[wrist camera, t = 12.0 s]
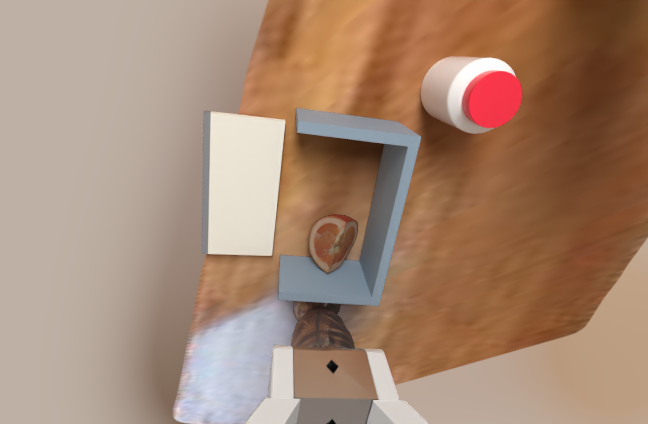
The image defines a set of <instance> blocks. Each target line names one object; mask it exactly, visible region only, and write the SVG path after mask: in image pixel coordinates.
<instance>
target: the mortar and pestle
mask: <svg viewBox="0 0 648 424" xmlns="http://www.w3.org/2000/svg"><path fill="white" fill-rule="evenodd" d="M339 310H340V304H338V303H321V302H304V301H294V306H293V311H294V314H295V317H296V319H297V320H298V323H297V325H296V327H295V330H294V333H293V336H292V343H291V346H292V347H293V346H305V347H320V348H351V349H355V347H354V342H353V339H352V337H351V334H350V332H349V331H348V330H347V328H346V326H345V325H344V323H343V321H342V319H341V318H340V317H339V316H338V315H337V314H338V312H339Z"/></svg>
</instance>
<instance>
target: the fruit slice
mask: <svg viewBox="0 0 648 424" xmlns="http://www.w3.org/2000/svg"><path fill="white" fill-rule="evenodd" d="M357 232H358V223H357V221H355V220H354V219H352V218H350V217H348V216H345V215H336V214H333V215H328V216H325V217H322V218H321V219H319V220H318V221H317V222H316V223H315V224H314V225H313V227H312V229H311V232H310V236H309V250H310V253H311V256H312V258H313V259H314V261H315V262H316V264H317V265H318V266H319V267H320V268H321V269H322V270H323V271H325V272H326V273H327V274H329V273H331V272H332V271H335V270H336V269H338V268H339V267H340V265H341V264H342V263H343V261H344V259H345V258H346V256H347V254H348V253H349V251H350V249H351V247H352V246H353V243H354V241H355V239H356V236H357Z"/></svg>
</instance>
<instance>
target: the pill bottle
mask: <svg viewBox="0 0 648 424" xmlns="http://www.w3.org/2000/svg"><path fill="white" fill-rule="evenodd" d="M421 101H422V104H423V107H424V108H425V110H426V111H427V112H428V113H429V114H430V115H431V116H432V117H434V118H436V119H438V120H440V121H442V122H444V123H446V124H449V125H451V126H453V127H455V128H457V129H459V130H462V131H464V132H467V133H473V134H477V133H484V132H488V131H490V130H492V129H494V128H496V127H499V126H501V125H503V124H505V123H507V122H508V121H509V120H510V119H511V118H512V117H513V116H514V115H515V114H516V112H517V111H518V109H519V107H520V104H521V101H522V87H521V84H520V82H519V80H518V79H517V78H516V75H515V73H514V71H513V70H512V68H511V67H510V66H509V65H508V64H506V63H505V62H504V61H501V60H499V59H496V58H489V57H464V56H452V57H447V58H444V59H442V60H440V61H438V62H437V63H436V64H434V65H433V66H432V67H431V68H430V69H429V70H428V72H427V74H426V75H425V77H424V79H423V82H422V86H421Z"/></svg>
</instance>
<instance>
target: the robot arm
mask: <svg viewBox="0 0 648 424" xmlns="http://www.w3.org/2000/svg"><path fill="white" fill-rule="evenodd" d="M245 424H429V423H428V422H427V421H426V420H425V419H424V418H423V417H422V416H421V415H420V414H419V413H418V412H417V411H416V410H415V409H413V408H412V407H411V406H410V405H409V404H408V403H407V402H406V401H400V399H399V396H398V393H397V390H396V387H395V384H394V381H393V377H392V374H391V371H390V368H389V365H388V362H387V359H386V356H385V353H384V351H383V350H382V349H351V348H320V347H305V346H293V347H292V346H283V345H274V346H273V351H272V359H271V368H270V376H269V386H268V396H267V398H264V400H263V401H262V402H261V404H260V405H259V406H258V407H257V409H256V410H255V411H254V412H253V414H252V415H251V416H250V418H249V419H248V420H247V421H246V423H245Z"/></svg>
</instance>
